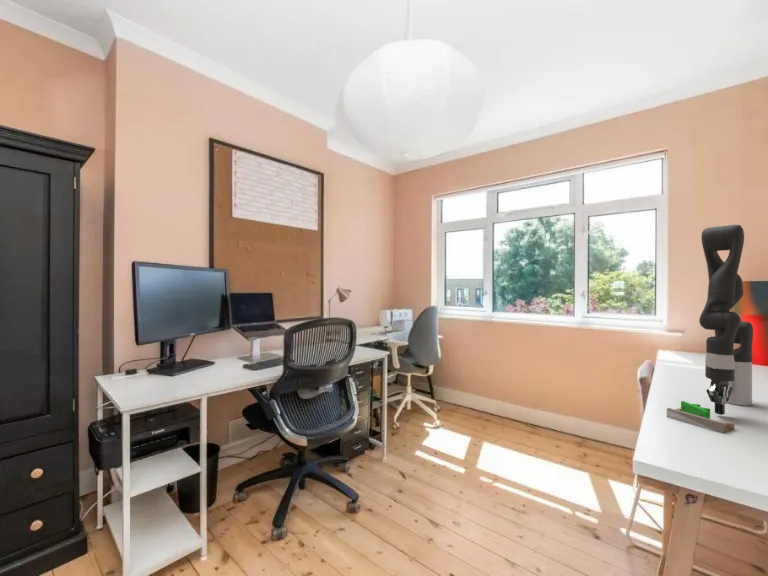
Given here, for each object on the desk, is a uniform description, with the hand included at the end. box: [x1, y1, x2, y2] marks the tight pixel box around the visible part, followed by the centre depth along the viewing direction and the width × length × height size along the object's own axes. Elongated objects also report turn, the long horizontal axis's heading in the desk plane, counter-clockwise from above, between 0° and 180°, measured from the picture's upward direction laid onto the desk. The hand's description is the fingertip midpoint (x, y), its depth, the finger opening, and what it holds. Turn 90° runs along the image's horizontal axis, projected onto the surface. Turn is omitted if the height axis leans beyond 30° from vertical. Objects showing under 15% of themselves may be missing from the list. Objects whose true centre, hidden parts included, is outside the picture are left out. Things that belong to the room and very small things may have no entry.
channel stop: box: [666, 407, 735, 434], centre depth 116 cm, size 8×15×3 cm, turn 24°
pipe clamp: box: [680, 400, 711, 419], centre depth 120 cm, size 11×4×5 cm, turn 172°
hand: (719, 413), depth 122 cm, fingers closed
